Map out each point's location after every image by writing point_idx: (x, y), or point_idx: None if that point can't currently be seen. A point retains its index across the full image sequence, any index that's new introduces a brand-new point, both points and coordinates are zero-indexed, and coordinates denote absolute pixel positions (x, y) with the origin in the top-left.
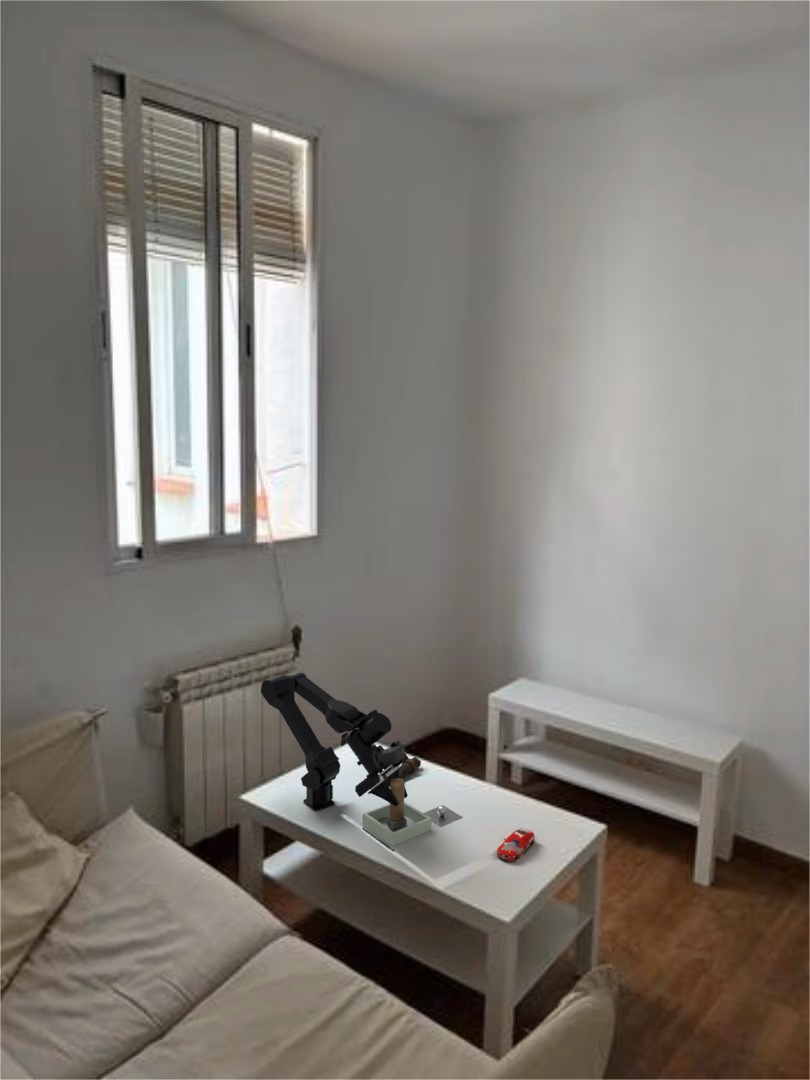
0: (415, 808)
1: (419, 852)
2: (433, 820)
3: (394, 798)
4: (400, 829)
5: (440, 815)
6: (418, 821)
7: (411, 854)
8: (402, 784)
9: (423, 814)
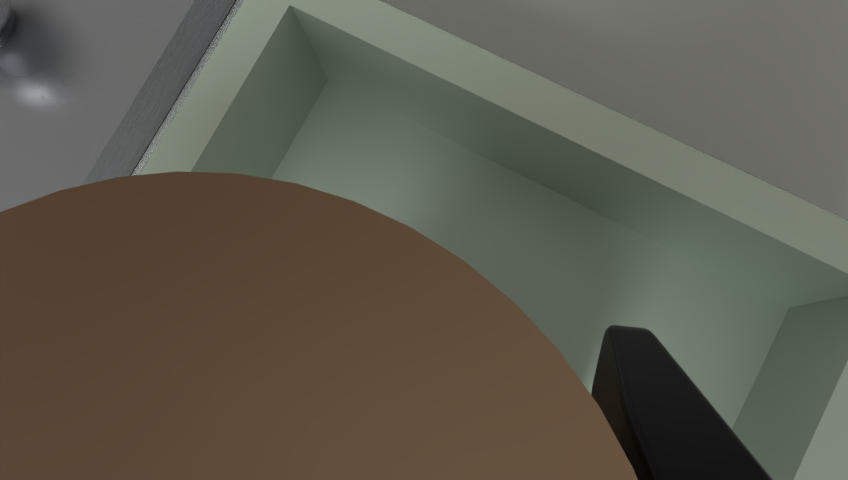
0: None
1: (688, 33)
2: (121, 68)
3: (721, 450)
4: (754, 222)
5: (5, 25)
6: None
7: (764, 91)
8: (373, 211)
9: (212, 84)
